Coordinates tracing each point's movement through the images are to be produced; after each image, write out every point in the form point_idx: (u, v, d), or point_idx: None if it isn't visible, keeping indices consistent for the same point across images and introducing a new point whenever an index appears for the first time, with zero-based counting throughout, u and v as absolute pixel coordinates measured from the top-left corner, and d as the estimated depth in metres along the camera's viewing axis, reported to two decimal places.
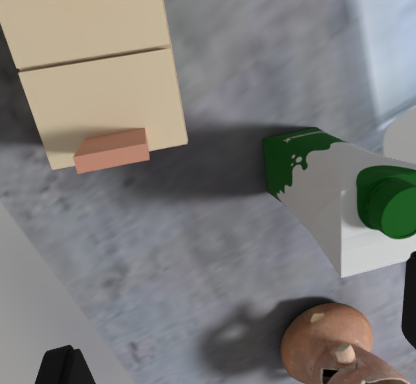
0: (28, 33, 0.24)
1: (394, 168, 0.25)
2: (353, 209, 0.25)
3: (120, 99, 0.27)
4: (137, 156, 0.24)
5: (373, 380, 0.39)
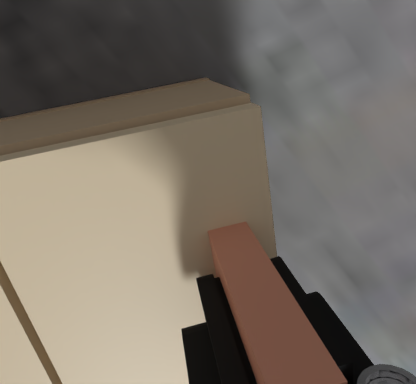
0: (67, 209, 0.09)
1: None
2: None
3: None
4: None
5: None
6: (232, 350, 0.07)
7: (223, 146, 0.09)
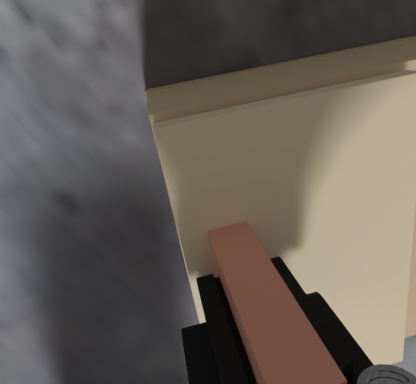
0: None
1: None
2: None
3: (328, 292, 0.12)
4: None
5: None
6: (232, 350, 0.07)
7: None
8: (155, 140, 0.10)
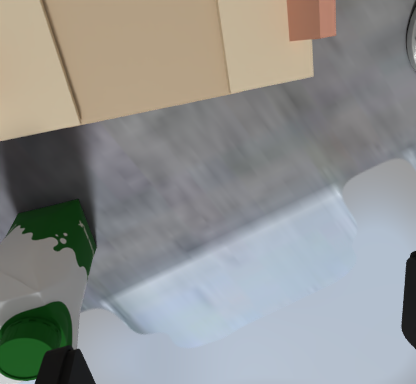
0: None
1: (70, 330, 0.27)
2: (19, 309, 0.24)
3: (20, 74, 0.26)
4: None
5: None
6: None
7: None
8: None
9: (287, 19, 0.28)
